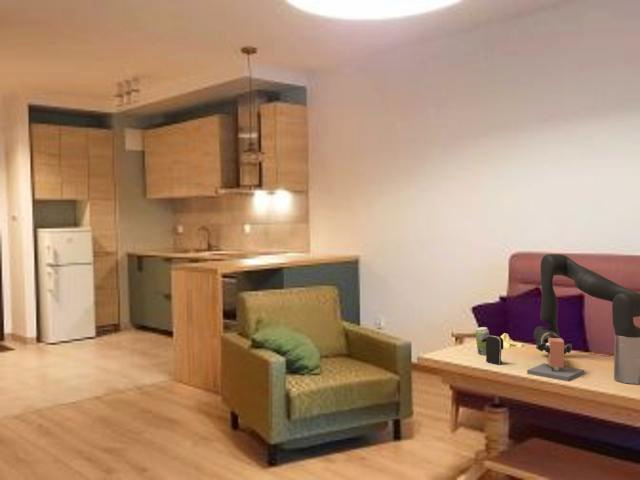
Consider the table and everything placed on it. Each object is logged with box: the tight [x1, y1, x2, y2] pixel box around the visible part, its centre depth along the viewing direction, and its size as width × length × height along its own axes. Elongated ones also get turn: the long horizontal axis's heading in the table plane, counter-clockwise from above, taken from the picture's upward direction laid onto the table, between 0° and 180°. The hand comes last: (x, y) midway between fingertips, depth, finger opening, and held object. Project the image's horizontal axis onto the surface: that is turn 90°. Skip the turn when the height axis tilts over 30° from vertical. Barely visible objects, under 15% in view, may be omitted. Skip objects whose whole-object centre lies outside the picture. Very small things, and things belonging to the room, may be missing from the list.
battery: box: [485, 335, 504, 365], centre depth 262 cm, size 7×4×11 cm, turn 35°
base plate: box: [526, 362, 585, 382], centre depth 244 cm, size 16×16×2 cm
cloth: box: [500, 332, 525, 350], centre depth 301 cm, size 22×19×6 cm
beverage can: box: [474, 326, 491, 356], centre depth 279 cm, size 6×7×12 cm
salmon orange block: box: [547, 337, 565, 367], centre depth 244 cm, size 5×7×10 cm
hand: (556, 351), depth 242 cm, fingers closed on salmon orange block, 5 cm apart
